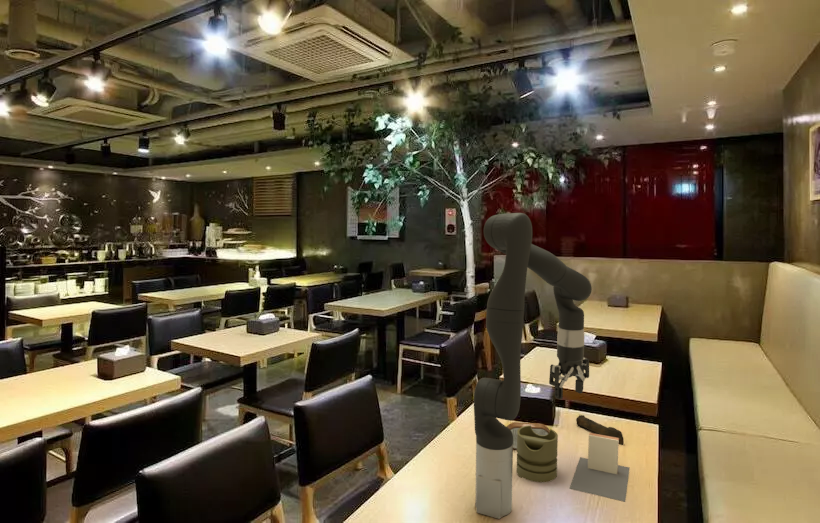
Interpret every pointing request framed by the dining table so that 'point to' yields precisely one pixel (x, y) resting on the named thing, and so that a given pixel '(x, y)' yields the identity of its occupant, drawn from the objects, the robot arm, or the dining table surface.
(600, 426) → the hand tool
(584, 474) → the mat
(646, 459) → the dining table surface
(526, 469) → the piston
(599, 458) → the tile
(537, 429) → the tin
